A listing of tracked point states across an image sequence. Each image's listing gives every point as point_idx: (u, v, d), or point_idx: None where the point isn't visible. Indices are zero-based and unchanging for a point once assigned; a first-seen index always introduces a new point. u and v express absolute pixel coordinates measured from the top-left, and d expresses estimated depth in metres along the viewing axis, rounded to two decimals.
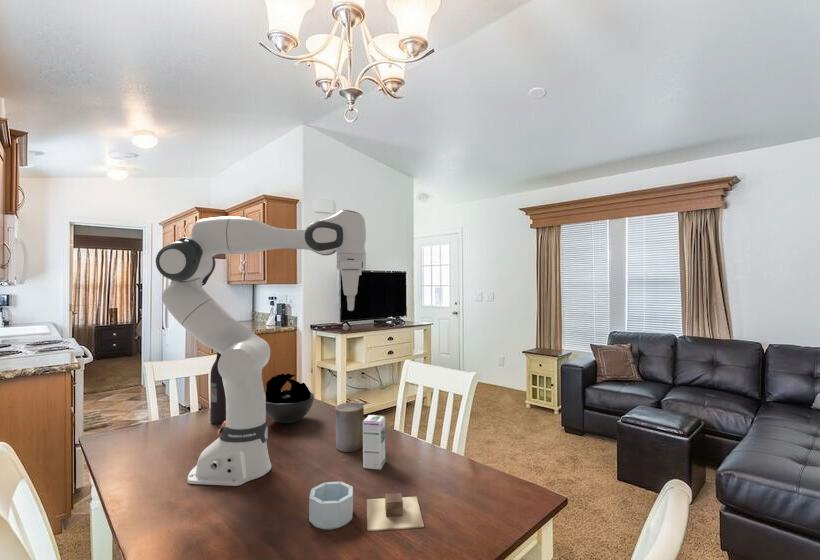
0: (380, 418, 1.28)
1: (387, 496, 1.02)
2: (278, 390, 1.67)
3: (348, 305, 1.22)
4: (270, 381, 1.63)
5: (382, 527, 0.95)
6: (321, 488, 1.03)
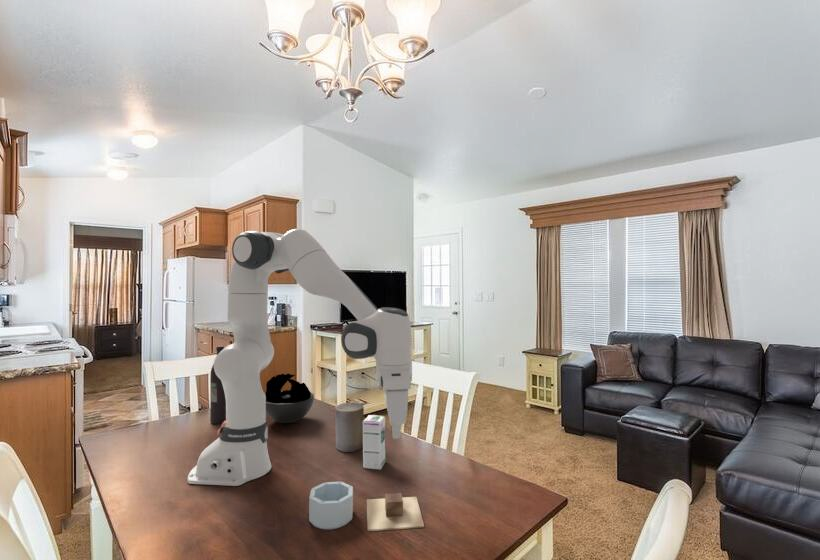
0: (380, 418, 1.28)
1: (387, 496, 1.02)
2: (278, 390, 1.67)
3: (393, 432, 0.97)
4: (270, 381, 1.63)
5: (382, 527, 0.95)
6: (321, 488, 1.03)
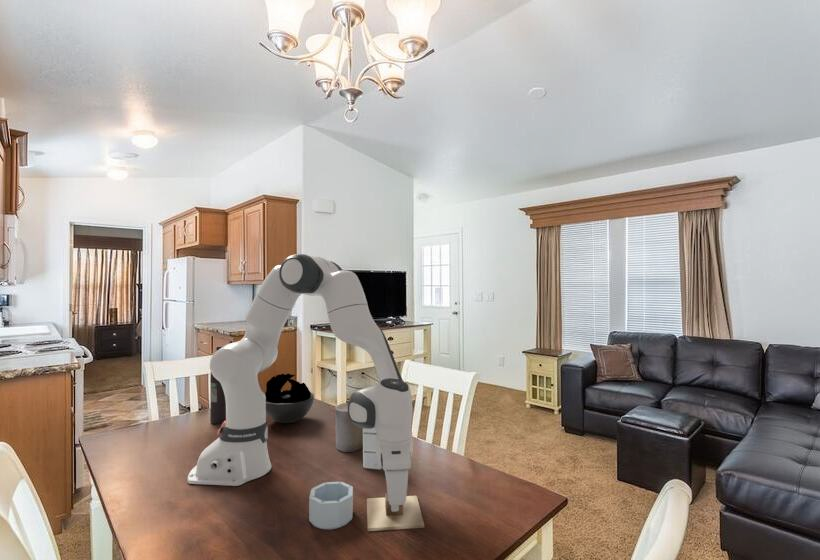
0: None
1: (387, 495, 1.02)
2: (278, 390, 1.67)
3: None
4: (270, 381, 1.63)
5: (382, 526, 0.95)
6: (321, 488, 1.03)
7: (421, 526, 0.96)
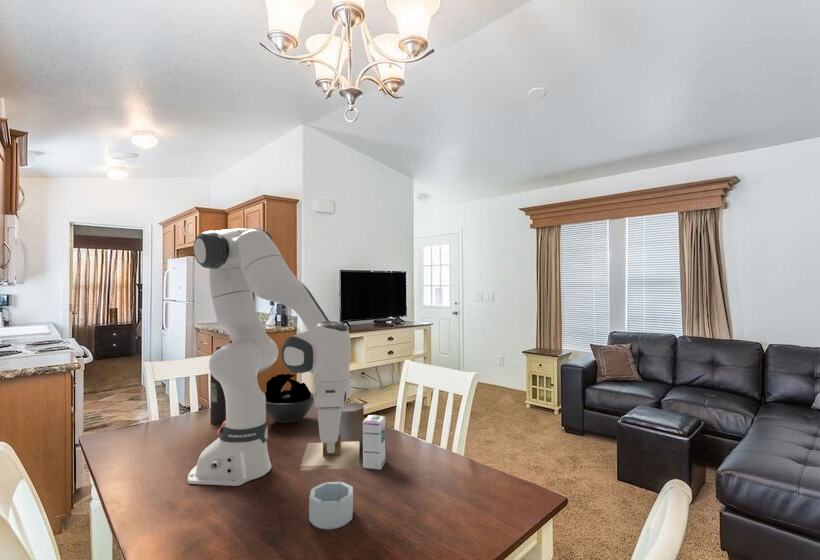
0: (380, 418, 1.28)
1: None
2: (278, 390, 1.67)
3: (328, 446, 0.96)
4: (270, 381, 1.63)
5: (316, 464, 0.94)
6: (321, 488, 1.03)
7: (356, 465, 0.94)
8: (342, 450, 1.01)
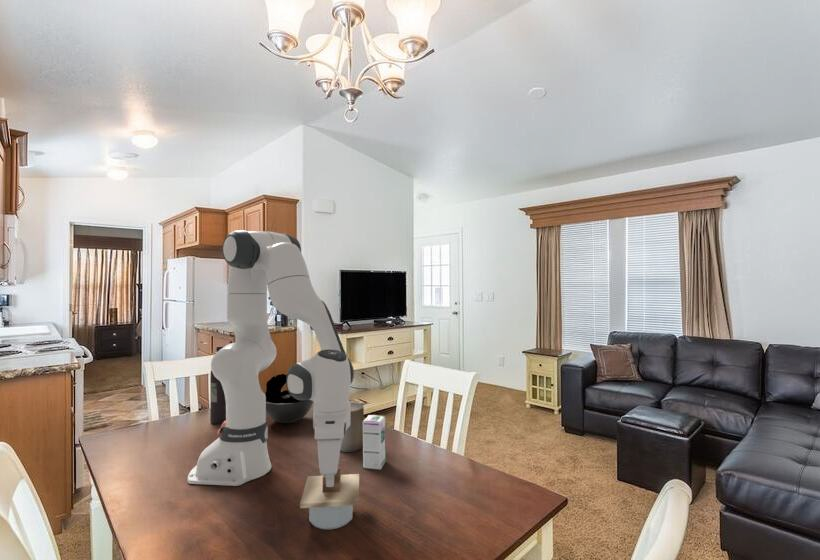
0: (380, 418, 1.28)
1: None
2: (278, 390, 1.67)
3: (327, 480, 0.95)
4: (270, 381, 1.63)
5: (315, 501, 0.94)
6: None
7: (355, 502, 0.94)
8: (342, 485, 1.01)
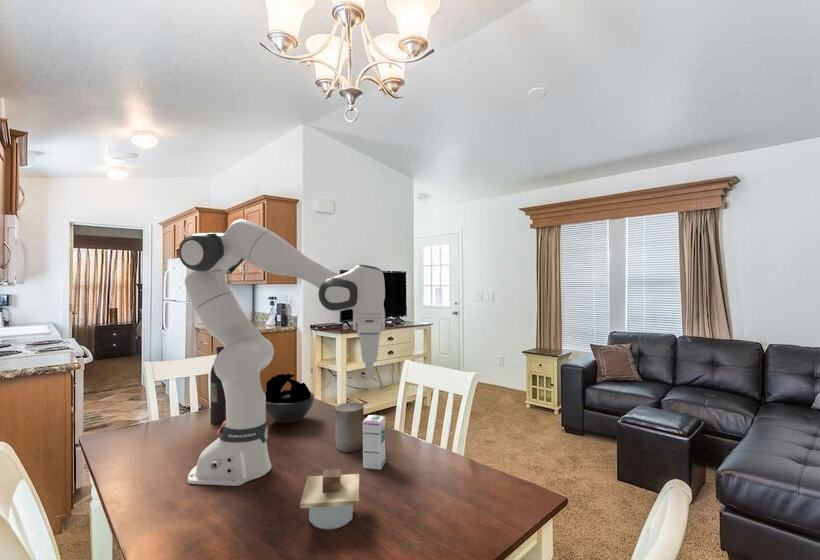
0: (380, 418, 1.28)
1: (325, 472, 1.01)
2: (278, 390, 1.67)
3: (366, 371, 1.10)
4: (270, 381, 1.63)
5: (315, 501, 0.94)
6: None
7: (355, 502, 0.94)
8: (342, 485, 1.01)
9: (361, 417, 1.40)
